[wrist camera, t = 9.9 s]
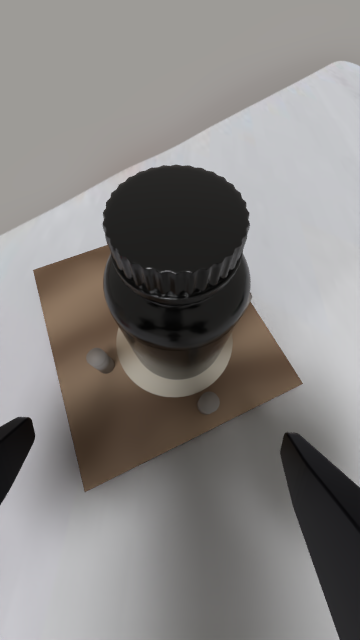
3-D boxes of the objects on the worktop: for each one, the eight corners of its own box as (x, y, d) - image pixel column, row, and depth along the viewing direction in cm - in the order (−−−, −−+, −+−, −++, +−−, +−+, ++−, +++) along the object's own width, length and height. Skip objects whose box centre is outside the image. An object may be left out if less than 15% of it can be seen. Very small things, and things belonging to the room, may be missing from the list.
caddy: (298, 385, 18) (321, 376, 15) (89, 489, 15) (66, 503, 12) (194, 221, 25) (196, 193, 22) (38, 275, 22) (15, 251, 19)
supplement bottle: (116, 358, 18) (17, 249, 7) (158, 287, 21) (133, 126, 10) (201, 399, 17) (241, 343, 6) (235, 318, 19) (305, 173, 8)
